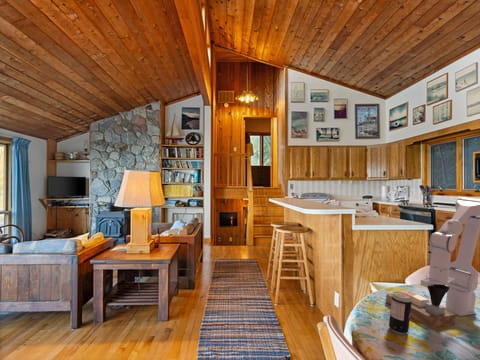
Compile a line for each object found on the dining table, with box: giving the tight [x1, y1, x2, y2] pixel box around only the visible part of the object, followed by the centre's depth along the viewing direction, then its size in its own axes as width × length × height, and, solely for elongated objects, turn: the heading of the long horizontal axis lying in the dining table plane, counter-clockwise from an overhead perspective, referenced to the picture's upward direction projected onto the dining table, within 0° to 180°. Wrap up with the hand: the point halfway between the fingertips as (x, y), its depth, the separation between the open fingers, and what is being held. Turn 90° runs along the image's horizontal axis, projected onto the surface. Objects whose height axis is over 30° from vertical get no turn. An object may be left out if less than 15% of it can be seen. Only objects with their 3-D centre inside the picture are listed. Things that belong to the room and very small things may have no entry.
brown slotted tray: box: [385, 291, 457, 329], centre depth 112 cm, size 12×19×4 cm, turn 21°
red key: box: [399, 290, 414, 297], centre depth 118 cm, size 4×4×3 cm
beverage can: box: [388, 291, 412, 335], centre depth 98 cm, size 6×6×12 cm
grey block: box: [425, 301, 445, 316], centre depth 107 cm, size 4×4×3 cm
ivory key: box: [411, 294, 430, 307], centre depth 112 cm, size 4×4×3 cm
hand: (435, 304), depth 107 cm, fingers closed
